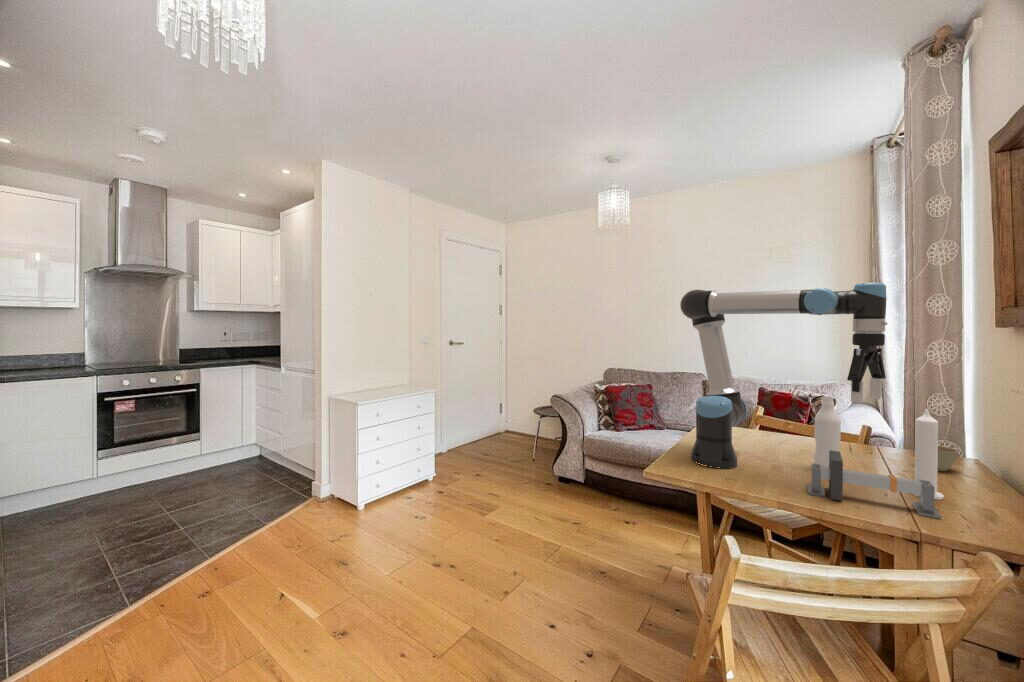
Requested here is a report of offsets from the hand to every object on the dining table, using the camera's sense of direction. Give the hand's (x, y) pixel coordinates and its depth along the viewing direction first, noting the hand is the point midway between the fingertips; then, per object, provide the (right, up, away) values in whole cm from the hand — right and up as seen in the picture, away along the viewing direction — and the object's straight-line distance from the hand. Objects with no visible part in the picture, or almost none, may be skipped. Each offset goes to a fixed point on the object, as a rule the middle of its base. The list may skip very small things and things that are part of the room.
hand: (866, 400), depth 124 cm
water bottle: (-3, -26, +11) cm, 28 cm away
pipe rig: (-12, -26, -13) cm, 32 cm away
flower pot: (+34, -25, +11) cm, 44 cm away
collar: (-17, -26, -9) cm, 33 cm away
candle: (+9, -26, -10) cm, 29 cm away
